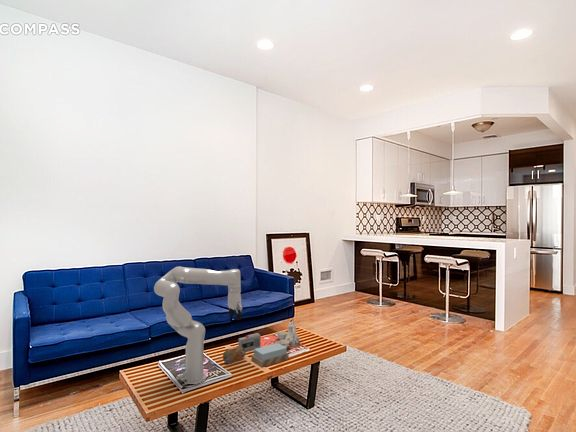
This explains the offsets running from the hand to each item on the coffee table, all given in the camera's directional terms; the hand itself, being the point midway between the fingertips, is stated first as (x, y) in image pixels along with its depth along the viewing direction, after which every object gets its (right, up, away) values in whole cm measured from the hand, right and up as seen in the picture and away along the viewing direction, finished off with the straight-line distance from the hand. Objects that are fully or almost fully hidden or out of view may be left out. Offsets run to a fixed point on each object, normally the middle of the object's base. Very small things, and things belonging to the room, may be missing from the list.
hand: (235, 317), depth 209 cm
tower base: (+21, -29, +5) cm, 36 cm away
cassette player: (+6, -28, +21) cm, 36 cm away
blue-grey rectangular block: (+21, -25, +4) cm, 33 cm away
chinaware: (+32, -29, +32) cm, 53 cm away
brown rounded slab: (-1, -28, +3) cm, 28 cm away
